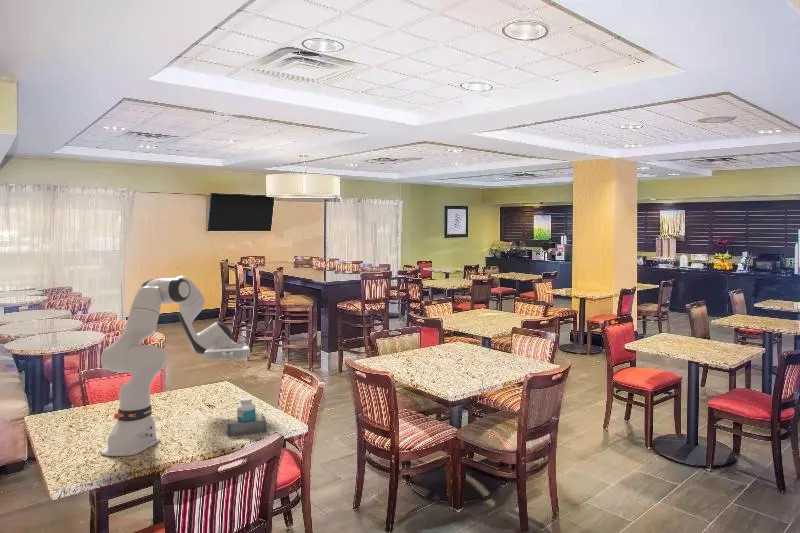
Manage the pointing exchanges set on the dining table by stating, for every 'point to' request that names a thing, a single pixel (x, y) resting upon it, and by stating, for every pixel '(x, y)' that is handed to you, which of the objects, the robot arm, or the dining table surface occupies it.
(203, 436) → the dining table surface
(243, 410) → the pill bottle
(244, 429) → the bracket
